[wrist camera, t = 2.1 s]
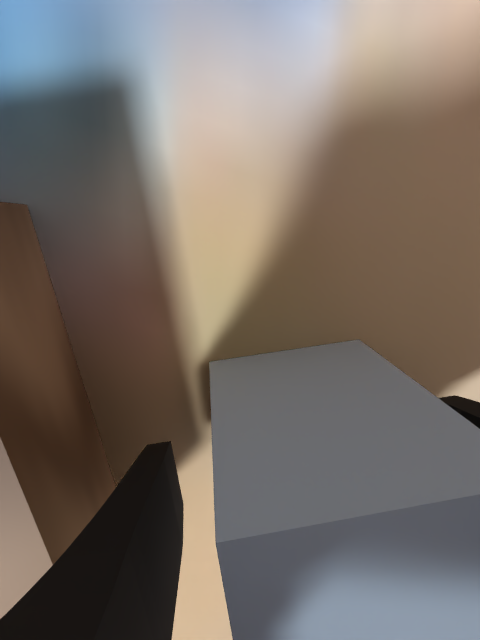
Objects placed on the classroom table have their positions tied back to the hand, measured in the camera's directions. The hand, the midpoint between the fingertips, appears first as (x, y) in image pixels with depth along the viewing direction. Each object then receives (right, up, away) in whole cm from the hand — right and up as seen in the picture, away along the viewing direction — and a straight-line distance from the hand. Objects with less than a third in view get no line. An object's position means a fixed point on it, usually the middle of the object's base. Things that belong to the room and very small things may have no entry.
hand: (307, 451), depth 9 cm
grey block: (0, 0, +2) cm, 2 cm away
